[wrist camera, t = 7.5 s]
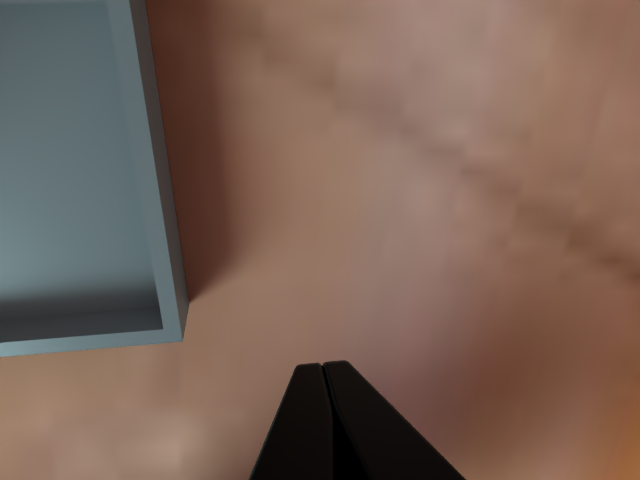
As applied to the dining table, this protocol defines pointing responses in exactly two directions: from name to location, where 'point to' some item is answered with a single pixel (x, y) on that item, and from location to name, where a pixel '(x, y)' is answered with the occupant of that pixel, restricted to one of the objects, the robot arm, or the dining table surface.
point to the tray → (84, 182)
